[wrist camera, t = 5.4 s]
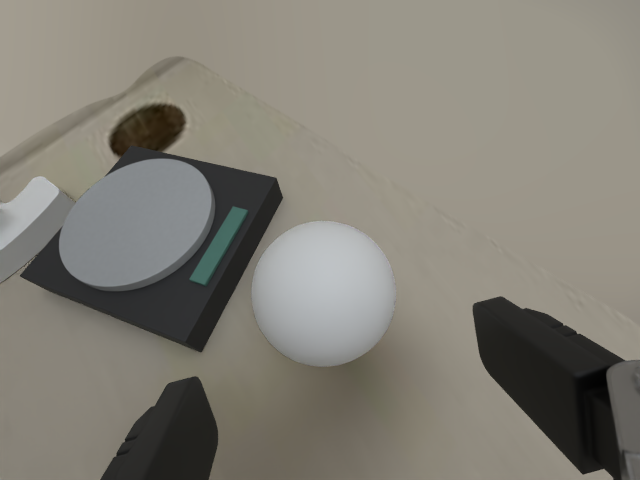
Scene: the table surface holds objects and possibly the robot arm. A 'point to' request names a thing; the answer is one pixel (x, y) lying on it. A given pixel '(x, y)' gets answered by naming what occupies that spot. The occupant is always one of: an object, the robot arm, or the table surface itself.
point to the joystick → (30, 223)
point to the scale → (159, 243)
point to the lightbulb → (323, 293)
